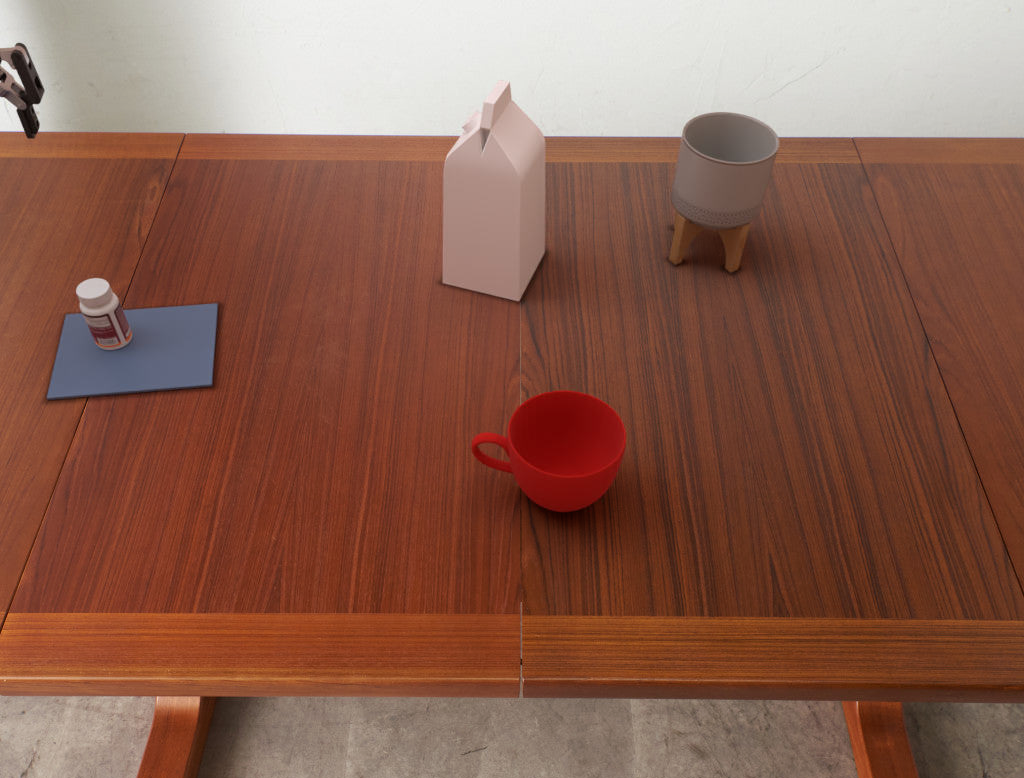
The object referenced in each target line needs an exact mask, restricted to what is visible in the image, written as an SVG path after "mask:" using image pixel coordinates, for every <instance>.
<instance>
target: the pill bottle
mask: <svg viewBox="0 0 1024 778" xmlns="http://www.w3.org/2000/svg"><path fill="white" fill-rule="evenodd" d="M75 293H76V296H77V298H78V301H79V310H80V313H82V314H83V317H84V319H85V321H86V323H87V325H88V328H89V330H90V332H91V334H92V336H93V339H94V341H95V343H96V344H97V346H98V347H100V348H101V349H104V350H116V349H119V348H122V347H124V346H126V345H127V344H128V343H129V342H130V341H131V339H132V332H131V329H130V326H129V324H128V322H127V319H126V317H125V314H124V312H123V310H124V309H123V307H122V305H121V302H120V299H119V297H118V296H117V294H116V293H115V292H113V289H112V288H111V285H110V283H109V281H108V280H106V279H104V278H99V277H93V278H88V279H86V280H83V281H81V282H80V283H79V284H78V285H77V287H76V288H75Z"/></svg>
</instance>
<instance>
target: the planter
mask: <svg viewBox="0 0 1024 778" xmlns="http://www.w3.org/2000/svg"><path fill="white" fill-rule="evenodd" d="M779 148H780V138H779V136H778V134H777V133H776V131H775V130H774V129H773V127H770V126H769V124H767V123H766V122H763V121H761V120H760V119H759V118H758V119H757V118H755V117H752V116H750V115H747V114H742V113H737V112H731V111H729V112H728V111H714V112H708V113H703V114H699V115H697V116H694V117H692V118H691V119H689V120H688V121H687V122H686V123H685V125H684V126H683V128H682V133H681V138H680V143H679V150H678V154H677V159H676V165H675V170H674V175H673V180H672V185H671V191H670V203H671V204H672V207H673V208H674V210H675V214H674V215H675V216H674V221H673V226H672V228H673V230H674V232H673V237H672V241H671V247H670V252H669V258H668V261H669V262H670V263H672V264H673V265H675V266H677V265H679V264H681V263H682V262H683V259H684V256H685V253H686V252H687V249H688V248H689V246H690V245H691V244H692V242H693V241H694V239H695V238H696V237H697V236H698V234H700V233H701V232H702V231H703V230H704V229H708V230H715V231H716V232H717V233H718V235H719V237H720V239H721V241H722V245H723V247H724V253H725V266H724V269H725V270H726V271H728V272H729V273H733V272H735V271H737V270H739V267H740V263H741V260H742V256H743V253H744V249H745V245H746V241H747V238H748V235H749V231H750V227H751V223H752V222H753V221H754V220H756V219H757V218H758V217H759V215H760V213H761V211H762V208H763V204H764V200H765V196H766V195H767V190H768V186H769V183H770V179H771V176H772V173H773V169H774V165H775V162H776V158H777V154H778V151H779Z"/></svg>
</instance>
